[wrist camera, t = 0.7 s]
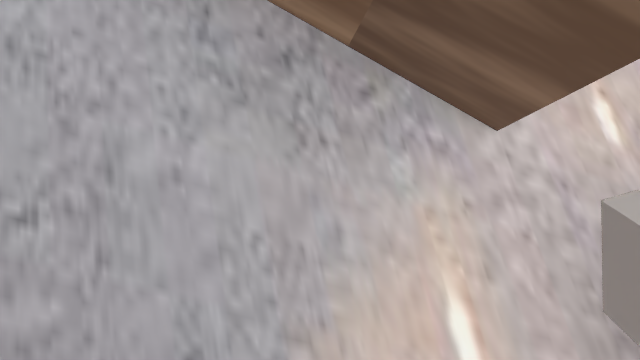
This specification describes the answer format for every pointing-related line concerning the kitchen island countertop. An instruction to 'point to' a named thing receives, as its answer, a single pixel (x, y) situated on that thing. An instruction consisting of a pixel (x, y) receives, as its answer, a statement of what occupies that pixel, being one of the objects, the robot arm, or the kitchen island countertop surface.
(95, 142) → the kitchen island countertop surface
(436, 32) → the two tier stand
